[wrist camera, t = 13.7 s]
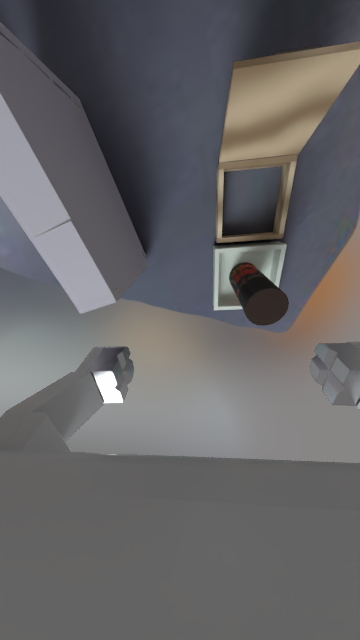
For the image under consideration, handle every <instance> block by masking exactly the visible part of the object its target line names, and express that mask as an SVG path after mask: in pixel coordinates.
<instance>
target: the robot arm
mask: <svg viewBox="0 0 360 640" xmlns="http://www.w3.org/2000/svg"><path fill="white" fill-rule="evenodd" d="M315 353H316V356H315V357H314V358H312V359H311V362H310V373H311V375H312V377H313V379H314V380H315V381H316V382H317V383H319V384H320V385H322V386H323V387H322V391H323V393H324V394H325V396H326V397H327V398H328V400H329V401H330V403H331V404H332V405H348V406H357V408H359V409H360V342H347V343H319V344H318V345H317V346H316V348H315ZM129 356H130V351H129V348H128V347H94V348H93V349H92V350H91V352H90V353H89V354H88V355H87V357H86V358H85V360H84V361H83V362H82V364H81V365H80V366H79V367H78V369H77V370H76V371H75V372H71V373H69V374H68V375H66V376H64V377H63V378H61V379H59V380H57V381H56V382H54V383H52V384H51V385H49V386H47V387H46V388H44V389H42V390H41V391H39V392H37V393H36V394H34V395H32V396H31V397H29V398H27V399H26V400H24V401H22V402H21V403H19V404H17V405H15V406H14V407H12V408H11V409H9V410H7V411H6V412H5V413H4V414H3V415H2V416H1V417H0V640H360V463H341V462H315V461H291V460H265V459H240V458H214V457H188V456H161V455H137V454H109V453H85V452H72V450H71V448H70V447H69V445H68V444H67V443H66V441H67V440H68V439H69V438H70V437H71V436H72V435H73V434H74V433H75V432H76V431H77V430H78V429H79V428H80V427H81V426H82V425H83V424H84V423H85V422H86V421H87V420H88V419H89V418H90V417H91V416H92V415H93V414H94V413H95V412H96V411H97V410H99V408H100V407H101V406H102V405H104V403H115V402H116V403H119V402H124V399H125V396H126V394H127V391H128V387H127V384H129V383H130V382H131V381H132V378H133V372H134V366H133V361H132V360H130V359H129Z"/></svg>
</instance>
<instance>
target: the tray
mask: <svg viewBox="0 0 360 640" xmlns="http://www.w3.org/2000/svg"><path fill="white" fill-rule="evenodd" d="M286 246H287V244H285V243H282V242H279V241H273V242H259V243H245V244H231V245H217V246H213V307H214V310H232V309H243V308H242V306H241V304H240V302H239V300H238V298H237V296H236V294H235V292H234V290H233V288H232V286H231V284H230V281H229V274H230V272H231V270H232V269H233V267H234V266H236V265H237V264H239V263H243V262H248V263H251V264H253V265H254V266H255V267H256V268H257V269H258V270H260V271H261V272H262V273H263V274H264V275H265V276H266V277H267V278H268V279H269V280H271V281H272V282H273V283H274V284H275V285H276V286H277V287H279V282H280V277H281V272H282V267H283V262H284V257H285V251H286Z"/></svg>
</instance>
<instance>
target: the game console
mask: <svg viewBox="0 0 360 640" xmlns="http://www.w3.org/2000/svg"><path fill="white" fill-rule="evenodd" d="M0 196H1V198H2V199H3V200H4V202H5V203H6V205H7V206H8V208H9V209H10V211H11V212H12V214H13V215H14V217H15V218H16V219H17V221H18V222H19V224H20V225H21V227H22V228H23V230H24V231H25V233H26V234H27V236H28V237H29V239H30V240H31V241H32V243H33V244H34V246H35V247H36V249H37V250H38V252H39V253H40V255H41V256H42V258H43V259H44V260H45V262H46V263H47V265H48V266H49V268H50V269H51V271H52V272H53V274H54V275H55V277H56V278H57V280H58V281H59V282H60V284H61V285H62V287H63V288H64V290H65V291H66V293H67V294H68V296H69V297H70V299H71V300H72V301H73V303H74V304H75V306H76V308H77V309H78V311H79V312H80V314H81V313H84V312H87V311H91V310H94V309H97V308H100V307H103V306H106V305H109V304H112V303H115V302H117V301H118V300H119V299H120V298H121V296H122V295H123V294H124V293H125V292H126V291H127V289H128V288H129V287H130V286H131V285H132V284H133V282H134V281H135V280H136V279H137V278H138V277H139V275H140V274H141V273H142V272H143V271H144V270H145V268H146V267H147V263H146V256H145V252H144V250H143V248H142V245H141V243H140V241H139V238H138V236H137V233H136V231H135V229H134V226H133V224H132V222H131V219H130V217H129V215H128V212H127V210H126V208H125V205H124V203H123V201H122V198H121V196H120V193H119V191H118V189H117V186H116V184H115V182H114V179H113V177H112V175H111V172H110V170H109V168H108V165H107V163H106V161H105V158H104V156H103V153H102V151H101V149H100V146H99V144H98V142H97V139H96V137H95V135H94V132H93V130H92V128H91V125H90V123H89V120H88V118H87V116H86V113H85V111H84V109H83V106H82V104H81V101H80V99H79V98H78V97H77V96H76V95H75V94H74V93H73V92H72V91H71V90H70V89H69V88H68V87H67V86H66V85H65V84H64V83H63V82H62V81H61V80H60V79H59V78H58V77H57V76H55V75H54V74H53V73H52V72H51V71H50V70H49V69H48V68H47V67H46V66H45V65H44V64H43V63H42V62H41V61H40V60H39V59H38V58H37V57H36V56H35V55H34V54H33V53H32V52H31V51H30V50H29V49H28V48H27V47H26V46H25V45H24V44H23V43H22V42H21V41H20V40H19V39H18V38H16V37H15V36H14V35H13V34H12V33H11V32H10V31H9V30H8V29H7V28H6V27H5V26H4V25H3V24H2V23H1V22H0Z"/></svg>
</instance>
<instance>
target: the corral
mask: <svg viewBox="0 0 360 640" xmlns="http://www.w3.org/2000/svg"><path fill="white" fill-rule="evenodd" d="M297 156H298V154H295V155H287V156H278V157H269V158H260V159H251V160H242V161H233V162H224V163H219V164H218V166H217V194H216V242H217V243H224V242H238V241H252V240H266V239H280V238H283V234H284V228H285V222H286V217H287V211H288V206H289V200H290V195H291V189H292V184H293V178H294V173H295V167H296V162H297ZM277 166H283V169H282V176H281V182H280V188H279V195H278V201H277V208H276V214H275V221H274V227H273V232H268V233H255V234H242V235H228V236H222V216H223V184H224V172H230V171H240V170H249V169H258V168H268V167H277Z"/></svg>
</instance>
